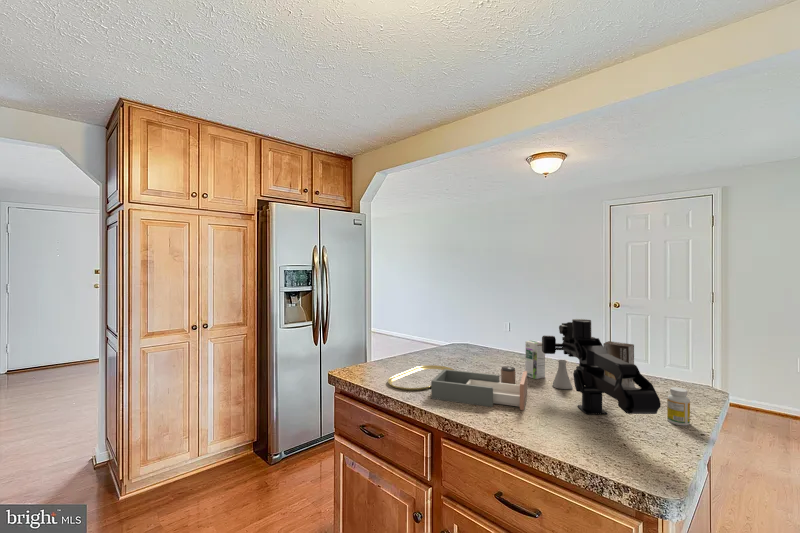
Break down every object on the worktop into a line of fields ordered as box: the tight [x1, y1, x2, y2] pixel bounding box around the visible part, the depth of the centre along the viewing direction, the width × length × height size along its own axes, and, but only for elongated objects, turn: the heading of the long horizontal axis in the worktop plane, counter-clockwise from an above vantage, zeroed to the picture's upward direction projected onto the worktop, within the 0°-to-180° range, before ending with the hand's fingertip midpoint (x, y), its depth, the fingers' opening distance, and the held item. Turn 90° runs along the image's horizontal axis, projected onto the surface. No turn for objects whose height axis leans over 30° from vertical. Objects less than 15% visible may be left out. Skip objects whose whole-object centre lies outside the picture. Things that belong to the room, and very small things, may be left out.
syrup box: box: [524, 339, 546, 380], centre depth 157 cm, size 6×6×14 cm
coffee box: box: [602, 340, 636, 388], centre depth 145 cm, size 9×6×16 cm
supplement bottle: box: [666, 386, 691, 427], centre depth 111 cm, size 5×5×10 cm
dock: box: [430, 369, 500, 408], centre depth 134 cm, size 21×16×6 cm
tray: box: [466, 370, 528, 411], centre depth 131 cm, size 20×16×8 cm
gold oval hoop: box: [387, 364, 455, 392], centre depth 154 cm, size 19×35×2 cm, turn 145°
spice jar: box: [500, 365, 516, 384], centre depth 143 cm, size 5×5×7 cm
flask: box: [551, 359, 573, 390], centre depth 143 cm, size 7×7×10 cm
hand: (559, 341), depth 145 cm, fingers open, 9 cm apart
